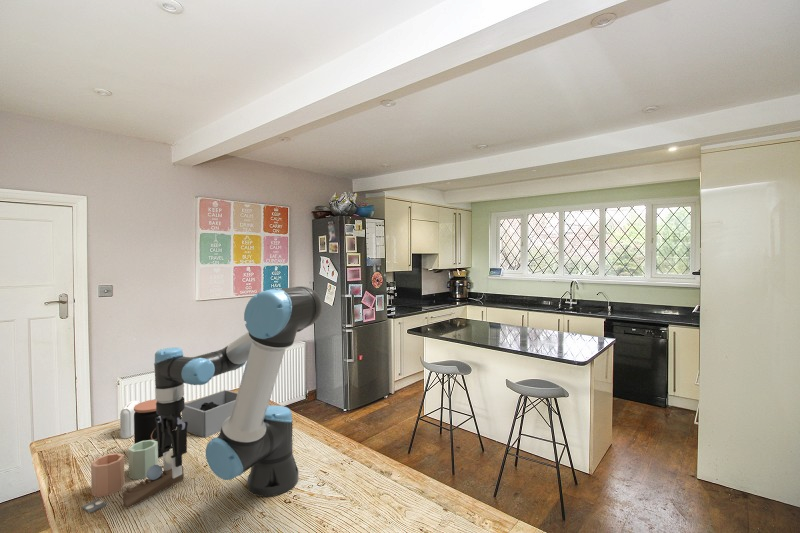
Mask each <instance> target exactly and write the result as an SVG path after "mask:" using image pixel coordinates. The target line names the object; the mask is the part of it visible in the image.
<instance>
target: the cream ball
mask: <svg viewBox="0 0 800 533" xmlns="http://www.w3.org/2000/svg"><path fill="white" fill-rule="evenodd" d="M170 450H171V451H169V452H168V453H167V454H166V456H165V461H166V463H168V464H172V458H171V456H173V450H172V449H170Z"/></svg>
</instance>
